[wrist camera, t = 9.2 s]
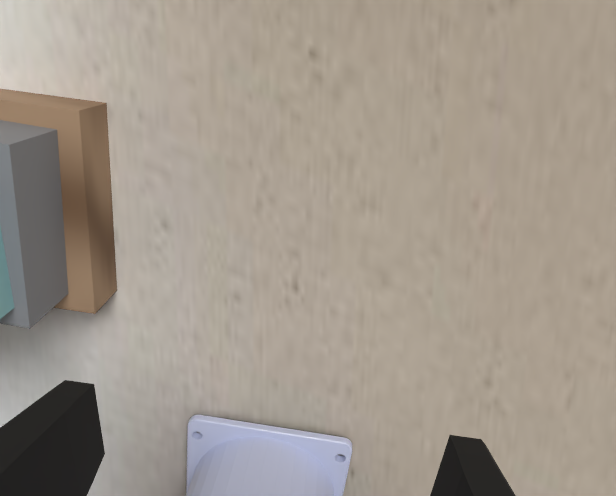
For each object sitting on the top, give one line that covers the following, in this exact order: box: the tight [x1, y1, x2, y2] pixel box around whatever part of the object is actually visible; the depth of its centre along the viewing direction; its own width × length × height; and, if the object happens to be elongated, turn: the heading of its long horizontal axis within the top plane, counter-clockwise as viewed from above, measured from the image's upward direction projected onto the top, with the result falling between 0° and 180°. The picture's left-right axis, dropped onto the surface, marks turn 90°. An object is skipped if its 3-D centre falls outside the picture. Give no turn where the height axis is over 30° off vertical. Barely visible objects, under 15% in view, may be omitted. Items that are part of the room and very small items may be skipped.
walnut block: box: [0, 89, 117, 314], centre depth 19 cm, size 8×8×2 cm
